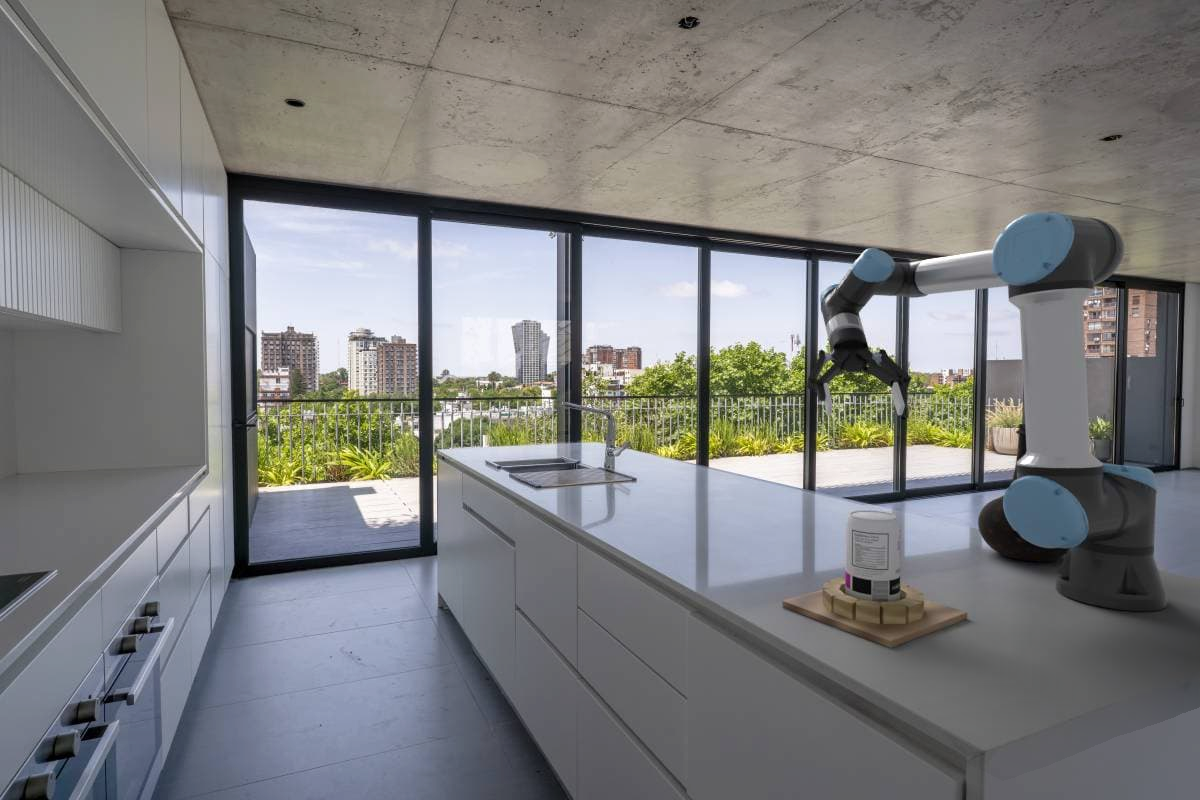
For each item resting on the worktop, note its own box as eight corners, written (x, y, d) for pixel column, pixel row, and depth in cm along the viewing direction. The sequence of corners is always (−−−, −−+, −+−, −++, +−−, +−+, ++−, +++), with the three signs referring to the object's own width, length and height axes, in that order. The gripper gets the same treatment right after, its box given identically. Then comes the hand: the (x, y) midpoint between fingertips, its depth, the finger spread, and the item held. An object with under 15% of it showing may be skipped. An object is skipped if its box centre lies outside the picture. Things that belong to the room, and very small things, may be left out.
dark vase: (966, 556, 139) (968, 424, 138) (992, 540, 152) (993, 419, 151) (1068, 574, 126) (1071, 428, 125) (1087, 555, 139) (1090, 422, 138)
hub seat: (967, 618, 105) (967, 596, 105) (890, 647, 94) (890, 623, 94) (858, 584, 122) (858, 566, 122) (782, 606, 111) (782, 585, 111)
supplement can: (834, 600, 111) (835, 511, 110) (876, 595, 113) (876, 508, 112) (867, 617, 103) (868, 522, 102) (911, 611, 105) (912, 518, 105)
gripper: (902, 350, 146) (926, 423, 132) (786, 352, 149) (798, 423, 135) (910, 324, 141) (937, 397, 127) (790, 326, 144) (802, 398, 130)
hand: (865, 411), depth 131 cm, fingers open, 13 cm apart
